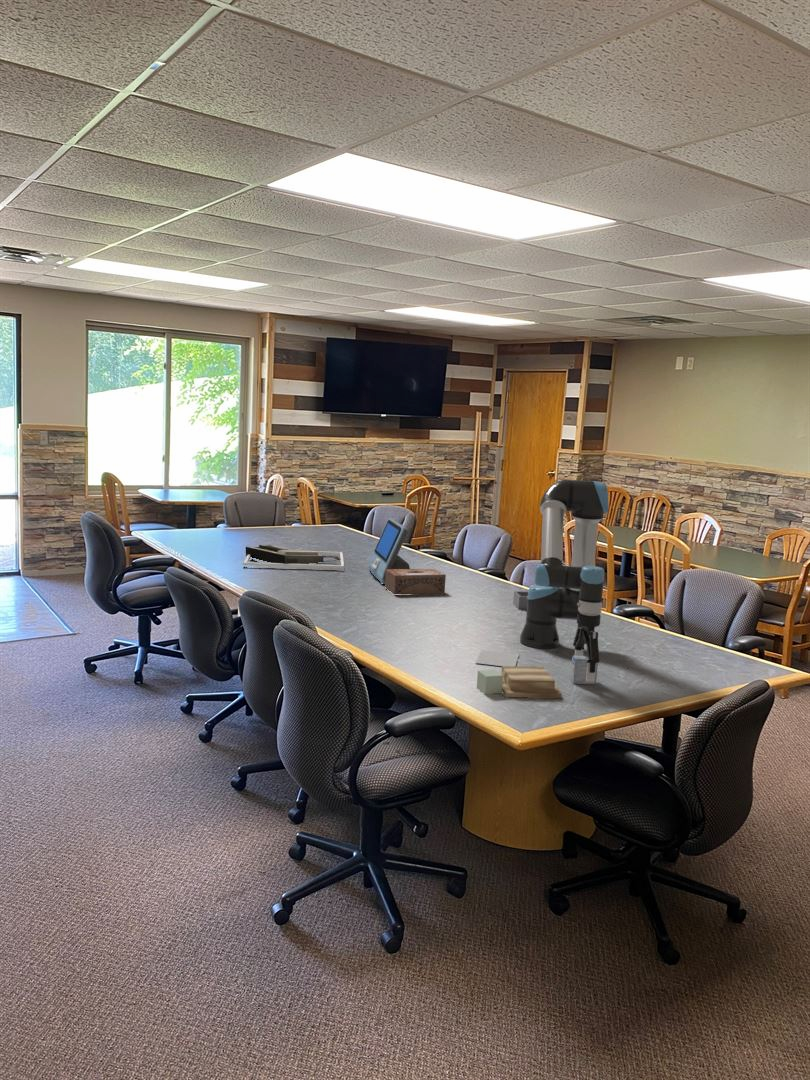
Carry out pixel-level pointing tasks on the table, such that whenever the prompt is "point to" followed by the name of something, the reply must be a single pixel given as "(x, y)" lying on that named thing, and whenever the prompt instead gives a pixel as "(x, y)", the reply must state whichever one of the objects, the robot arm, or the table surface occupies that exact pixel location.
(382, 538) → the touchscreen device
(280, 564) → the document tray rim
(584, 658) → the medicine box
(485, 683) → the green block
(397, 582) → the tissue box cover
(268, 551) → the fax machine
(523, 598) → the desk organizer
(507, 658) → the paper stack
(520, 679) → the pedestal
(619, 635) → the table surface
